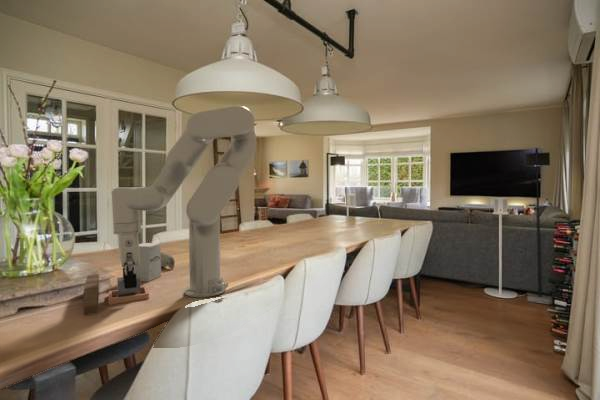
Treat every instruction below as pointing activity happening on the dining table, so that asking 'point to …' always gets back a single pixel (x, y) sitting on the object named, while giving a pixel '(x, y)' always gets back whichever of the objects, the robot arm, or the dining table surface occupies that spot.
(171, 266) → the decorative bird
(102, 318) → the dining table surface
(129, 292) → the bar
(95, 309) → the board
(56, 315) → the dining table surface
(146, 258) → the supplement box
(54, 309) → the dining table surface
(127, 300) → the key collar
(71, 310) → the dining table surface
